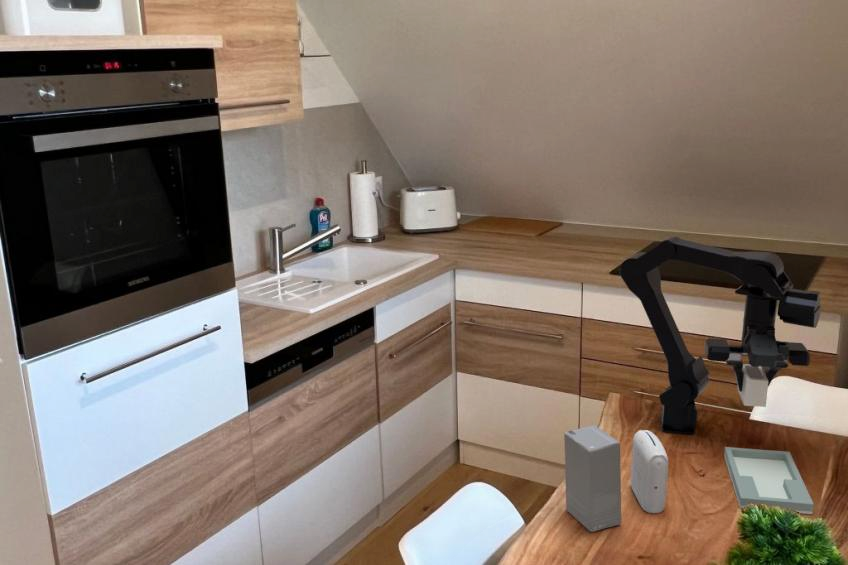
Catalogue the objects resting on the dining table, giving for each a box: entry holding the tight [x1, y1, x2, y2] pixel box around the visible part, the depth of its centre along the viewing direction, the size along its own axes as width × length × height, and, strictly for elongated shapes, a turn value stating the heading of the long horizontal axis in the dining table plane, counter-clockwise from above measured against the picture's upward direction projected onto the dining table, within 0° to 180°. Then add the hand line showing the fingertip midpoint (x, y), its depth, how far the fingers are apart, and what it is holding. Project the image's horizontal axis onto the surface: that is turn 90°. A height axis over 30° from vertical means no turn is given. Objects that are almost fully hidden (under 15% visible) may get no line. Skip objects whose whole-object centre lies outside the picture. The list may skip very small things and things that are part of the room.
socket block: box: [737, 363, 769, 408], centre depth 163 cm, size 4×8×6 cm, turn 169°
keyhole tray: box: [723, 446, 815, 515], centre depth 153 cm, size 12×19×2 cm, turn 169°
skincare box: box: [563, 424, 622, 533], centre depth 141 cm, size 8×7×16 cm
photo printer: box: [629, 429, 669, 514], centre depth 147 cm, size 10×4×12 cm, turn 2°
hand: (751, 391), depth 164 cm, fingers closed on socket block, 4 cm apart
